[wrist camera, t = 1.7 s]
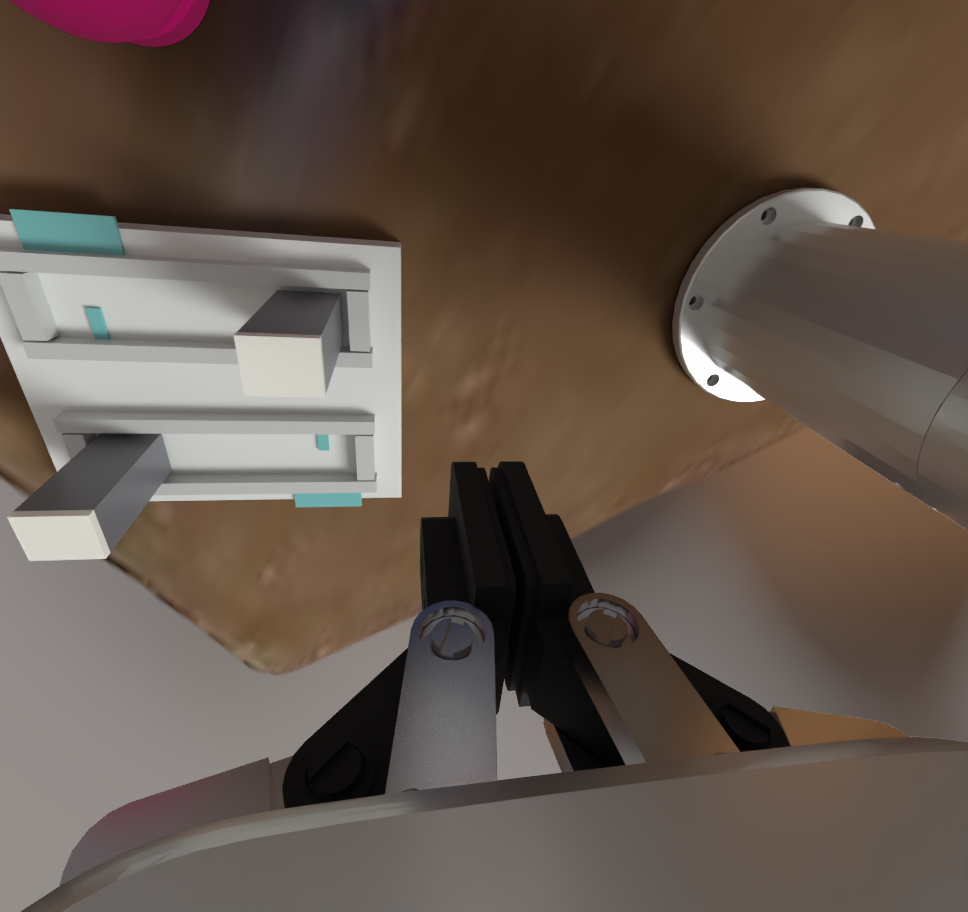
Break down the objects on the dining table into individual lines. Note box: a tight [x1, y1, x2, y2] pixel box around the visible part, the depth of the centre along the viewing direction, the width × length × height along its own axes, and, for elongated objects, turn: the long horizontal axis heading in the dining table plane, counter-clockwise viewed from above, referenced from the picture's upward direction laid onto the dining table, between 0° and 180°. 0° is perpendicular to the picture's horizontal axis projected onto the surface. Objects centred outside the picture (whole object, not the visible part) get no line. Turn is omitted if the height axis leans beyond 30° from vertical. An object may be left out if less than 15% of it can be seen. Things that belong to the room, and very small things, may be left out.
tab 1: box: [7, 433, 172, 561], centre depth 24 cm, size 3×2×7 cm
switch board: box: [0, 209, 401, 507], centre depth 27 cm, size 19×16×3 cm
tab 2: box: [234, 290, 343, 398], centre depth 22 cm, size 3×2×7 cm
